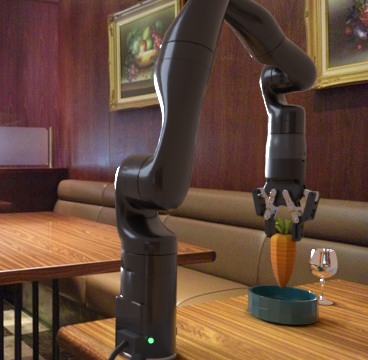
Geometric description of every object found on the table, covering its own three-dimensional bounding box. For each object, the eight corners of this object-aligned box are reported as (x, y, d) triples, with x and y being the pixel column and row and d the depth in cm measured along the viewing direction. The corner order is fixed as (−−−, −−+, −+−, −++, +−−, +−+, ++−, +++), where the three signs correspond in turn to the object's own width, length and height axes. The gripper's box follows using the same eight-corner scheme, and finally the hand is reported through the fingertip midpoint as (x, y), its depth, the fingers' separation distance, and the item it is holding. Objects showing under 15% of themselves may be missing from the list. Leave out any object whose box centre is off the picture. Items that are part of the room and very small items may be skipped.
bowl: (295, 331, 94) (296, 305, 93) (234, 313, 104) (235, 290, 104) (330, 319, 101) (331, 295, 101) (270, 303, 112) (271, 282, 112)
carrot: (298, 292, 99) (300, 218, 99) (272, 291, 100) (274, 217, 100) (291, 286, 104) (293, 215, 104) (266, 285, 105) (268, 215, 105)
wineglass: (302, 300, 115) (303, 248, 115) (318, 297, 117) (320, 247, 117) (325, 306, 110) (326, 253, 109) (342, 303, 112) (343, 251, 112)
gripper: (243, 156, 105) (241, 236, 106) (310, 156, 93) (308, 246, 94) (264, 157, 109) (262, 233, 110) (330, 156, 98) (328, 242, 98)
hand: (283, 239), depth 102 cm, fingers closed on carrot, 5 cm apart
